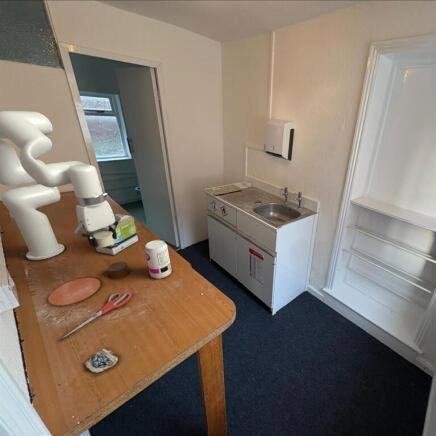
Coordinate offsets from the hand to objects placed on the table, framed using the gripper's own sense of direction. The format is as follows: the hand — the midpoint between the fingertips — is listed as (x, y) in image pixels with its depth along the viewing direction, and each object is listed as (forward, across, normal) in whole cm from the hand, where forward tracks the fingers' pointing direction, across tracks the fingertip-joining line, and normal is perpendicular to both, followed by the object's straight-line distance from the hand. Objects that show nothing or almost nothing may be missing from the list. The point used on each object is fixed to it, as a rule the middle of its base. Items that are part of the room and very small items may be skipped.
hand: (104, 241), depth 91 cm
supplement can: (+17, -10, +15) cm, 25 cm away
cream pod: (+1, 0, 0) cm, 1 cm away
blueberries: (+17, +25, +34) cm, 45 cm away
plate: (+17, +12, -4) cm, 21 cm away
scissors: (+17, +15, +16) cm, 28 cm away
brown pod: (+17, -2, 0) cm, 17 cm away
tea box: (+17, -16, -21) cm, 31 cm away
